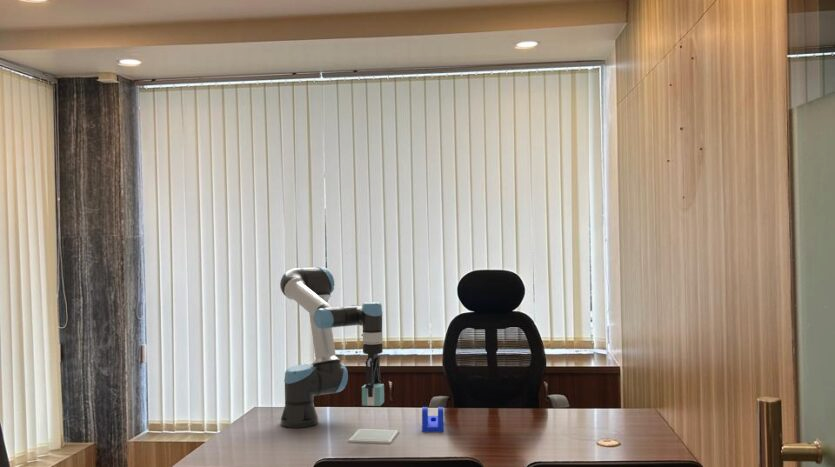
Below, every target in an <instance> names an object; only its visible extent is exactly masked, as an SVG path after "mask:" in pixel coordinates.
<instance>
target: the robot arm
mask: <svg viewBox="0 0 835 467" xmlns="http://www.w3.org/2000/svg"><path fill="white" fill-rule="evenodd" d="M279 284H280V285H279V286H280V291H281V292H282V294H283V295H284V296H285V297H286V298H288V299H289V300H294V301H295V302H296V303H297V304H298V305H299V306H301V307H302V308H303V309H304V310H306V311H307V312H308V313H309V315H308V316H309V320H310V321H309V322H310V329H311V336H312V344H313V349H314V351H313V352H314V357H315V359H314V361H313V362H312V364H310V363H309V364H307V363H304V364H297V365H292V366H290V367H289V368H287V369H286V370H285V372H284V380H283V382H284V407H283V411H282V414H281V417H280V425H281V426H282V427H285V428H292V429H299V428H300V429H301V428H310V427H314V426H316V425H317V424H318V423H319V416H318V414H317V410H316V407H315V404H314V401H315V400H314V397H316V396H322V395H329V394H332V395H333V394H335V393H340V392H342V391H344V389H345V388H346V387H347V384H348V380H349V378H348V375H349V374H348V373H349V372H348V369H347V367H346V365H345V364H343V363H341V359H340V358H339V357H338V356H337V354H336V348H335V340H334V335H333V328H340V327H349V326H350V327H351V326H362V334H361V337H362V342H363V344H362V352H363V354H365V355H367V358H366V360H365V384H366V385H365V384H364V385H365V388H367V405H375V388H374V384H382V381H381V366H380V360H381V358H380V357H381V354H382V353H383V352H384V351H383V349H384V348H383V343H382V342H383V341H384V340H383V307H382V303H381V302H379V301H367V302H363V303H362V305H359V304H352V305H349V306H338V307H334V306H332V305H331V304H330V303H329V300H330V298H331V297H332V296H331V294H332V293H333V292H334V290H335V278H334V275H333V273H332V272H331V270H330V269H328V268H327V267H320V266H316V267H315V266H314V267H297V268H296V267H295V268H292V269H289V270H288V271H286V272H285V273H284V274H282V276H281V279H280V283H279ZM379 354H380V355H379Z"/></svg>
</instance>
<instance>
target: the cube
mask: <svg viewBox="0 0 835 467" xmlns="http://www.w3.org/2000/svg"><path fill="white" fill-rule="evenodd" d="M365 385H366V383H365V384H364V385H363V386H361V406H365V407H369V406H371V407H380V406H382V405H383V404H384V403H385V384H384V383H378V384H374V388H375V405H367V388H365Z"/></svg>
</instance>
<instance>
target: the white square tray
mask: <svg viewBox="0 0 835 467" xmlns="http://www.w3.org/2000/svg"><path fill="white" fill-rule="evenodd" d="M398 434H399V430H398V429H397V430H396V429H372V428H368V429H367V428H359V429H357V430H356V432H354V434H353V435H352V436H351V437H350V438H349V439H348V443H358V444H359V443H362V444H363V443H364V444H383V445H385V444H387V445H389V444H390V445H391V444H392V443H393V441H394V440H395V439H396V437H397V436H398Z"/></svg>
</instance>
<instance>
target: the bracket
mask: <svg viewBox="0 0 835 467" xmlns="http://www.w3.org/2000/svg"><path fill="white" fill-rule="evenodd" d="M428 408H429V407H428V406H422V408H421V409H422V410H421V432H422V433H444V431H445V430H444V427H445V426H444V424H445V423H444V421H445V419H444V406H438V407H437V415H429V409H428Z"/></svg>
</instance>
